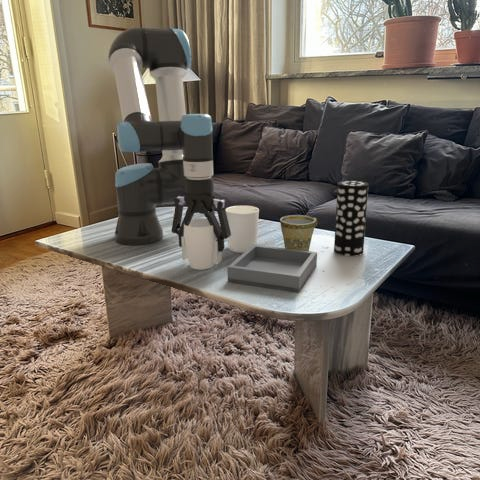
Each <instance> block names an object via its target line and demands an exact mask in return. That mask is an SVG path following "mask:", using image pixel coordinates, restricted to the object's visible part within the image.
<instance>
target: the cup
mask: <svg viewBox="0 0 480 480" xmlns="http://www.w3.org/2000/svg"><path fill="white" fill-rule="evenodd" d="M184 239H185V244H186V249H187V254H188V258H187V259H188V263H189V264H188V265H189V267H190V268H191V269H193V270H198V271H200V270H208V269H211V268H213V267H214V266H215V265H216V264H215V252H214V240H216V239H217V238H216V236H215V234H214V232H213V225H212V226H210V223H209V221H208V219H207V218H206V217H205V218H204V217H202V218H201V217H200V218H192V219H191V222H190V224H189V226H186V225H185V224H184Z"/></svg>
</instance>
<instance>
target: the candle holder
mask: <svg viewBox="0 0 480 480" xmlns="http://www.w3.org/2000/svg"><path fill="white" fill-rule="evenodd" d="M225 210H226V214H227V219H228V223H229V227H230V232H231V236H230V237H228V238H227V246H228V250H229V251H231V252H233V253H239V254H240V253H241V254H243V253H244V252H245V251H246V250H248V249H249V248H250V247H251V246H252V245H258V244H257V243H258V228H259V215H260V214H259V213H260V209H259V208H258V207H256V206H253V205H233V206H228V207H225Z"/></svg>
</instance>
